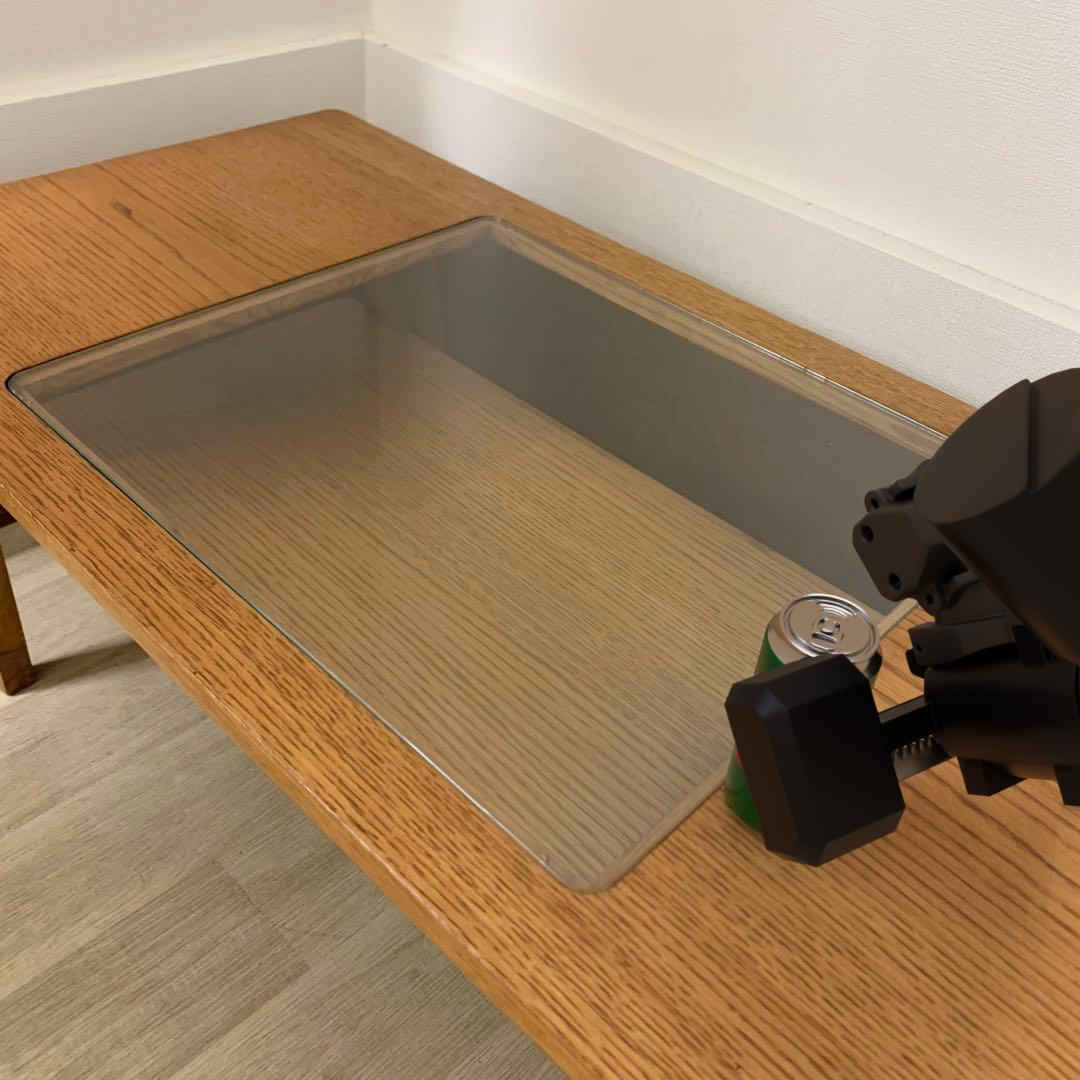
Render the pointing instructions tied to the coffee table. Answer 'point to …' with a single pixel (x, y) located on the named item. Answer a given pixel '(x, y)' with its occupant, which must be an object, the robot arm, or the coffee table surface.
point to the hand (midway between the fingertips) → (828, 693)
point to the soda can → (796, 635)
